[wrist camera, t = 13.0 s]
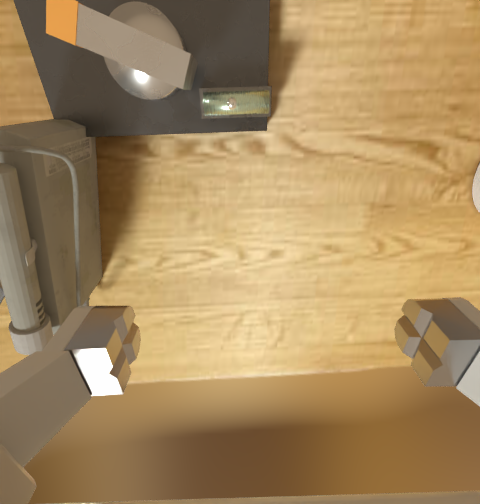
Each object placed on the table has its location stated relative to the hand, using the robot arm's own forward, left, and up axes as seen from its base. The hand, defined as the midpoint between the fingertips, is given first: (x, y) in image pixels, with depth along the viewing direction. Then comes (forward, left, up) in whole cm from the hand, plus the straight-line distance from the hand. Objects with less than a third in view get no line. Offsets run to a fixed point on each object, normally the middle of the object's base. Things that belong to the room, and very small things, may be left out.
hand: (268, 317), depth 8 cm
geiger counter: (+18, +8, -25) cm, 32 cm away
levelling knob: (+7, -9, -23) cm, 25 cm away
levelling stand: (+7, -9, -25) cm, 27 cm away
